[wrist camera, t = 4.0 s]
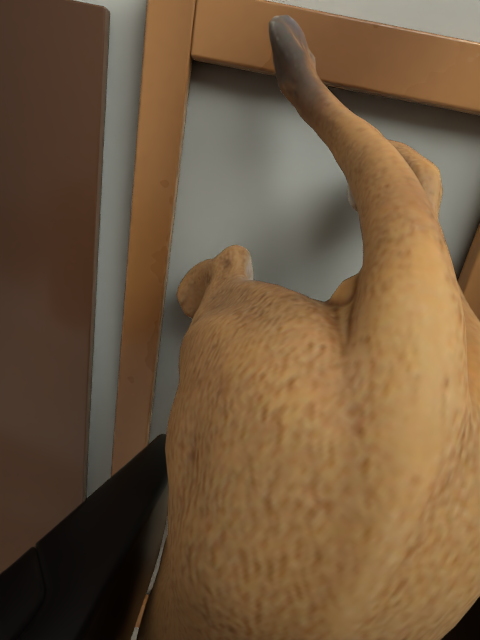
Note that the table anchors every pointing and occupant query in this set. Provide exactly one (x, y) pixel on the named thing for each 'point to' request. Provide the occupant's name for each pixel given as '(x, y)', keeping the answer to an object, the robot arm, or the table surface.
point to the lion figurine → (327, 421)
